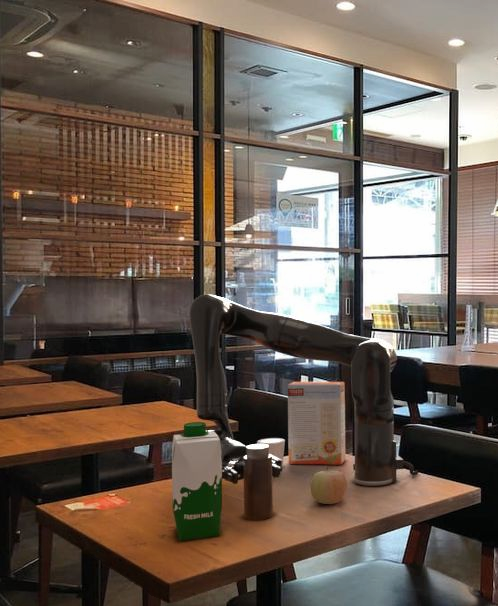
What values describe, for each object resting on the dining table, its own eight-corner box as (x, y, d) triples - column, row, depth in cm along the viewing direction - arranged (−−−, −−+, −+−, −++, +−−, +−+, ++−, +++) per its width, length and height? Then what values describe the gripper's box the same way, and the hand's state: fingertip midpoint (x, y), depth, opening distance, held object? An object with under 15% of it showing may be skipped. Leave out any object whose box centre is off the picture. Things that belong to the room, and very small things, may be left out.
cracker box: (346, 459, 186) (345, 381, 185) (341, 465, 180) (340, 384, 179) (294, 458, 187) (293, 380, 187) (287, 464, 181) (287, 383, 181)
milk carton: (218, 521, 137) (217, 420, 137) (225, 537, 129) (224, 428, 129) (170, 528, 134) (169, 423, 133) (174, 544, 126) (173, 432, 125)
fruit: (317, 510, 144) (316, 471, 144) (306, 500, 151) (306, 463, 151) (352, 505, 147) (351, 467, 147) (340, 495, 154) (340, 459, 154)
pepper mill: (271, 510, 144) (270, 442, 144) (274, 518, 139) (273, 448, 139) (243, 512, 143) (242, 444, 142) (244, 521, 137) (244, 450, 137)
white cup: (261, 472, 173) (261, 444, 173) (254, 466, 180) (254, 439, 179) (288, 469, 177) (288, 441, 176) (280, 463, 183) (280, 436, 182)
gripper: (199, 446, 151) (221, 461, 137) (263, 438, 158) (290, 452, 145) (200, 480, 151) (222, 500, 137) (264, 471, 159) (291, 488, 145)
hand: (257, 475), depth 141 cm, fingers open, 8 cm apart
